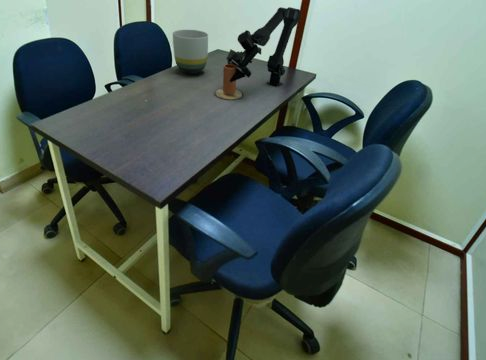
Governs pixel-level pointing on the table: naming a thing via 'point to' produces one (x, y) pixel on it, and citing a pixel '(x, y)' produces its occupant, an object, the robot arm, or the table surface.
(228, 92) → the terracotta pot
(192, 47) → the planter
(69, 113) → the table surface
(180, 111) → the table surface
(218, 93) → the beige flat disc
